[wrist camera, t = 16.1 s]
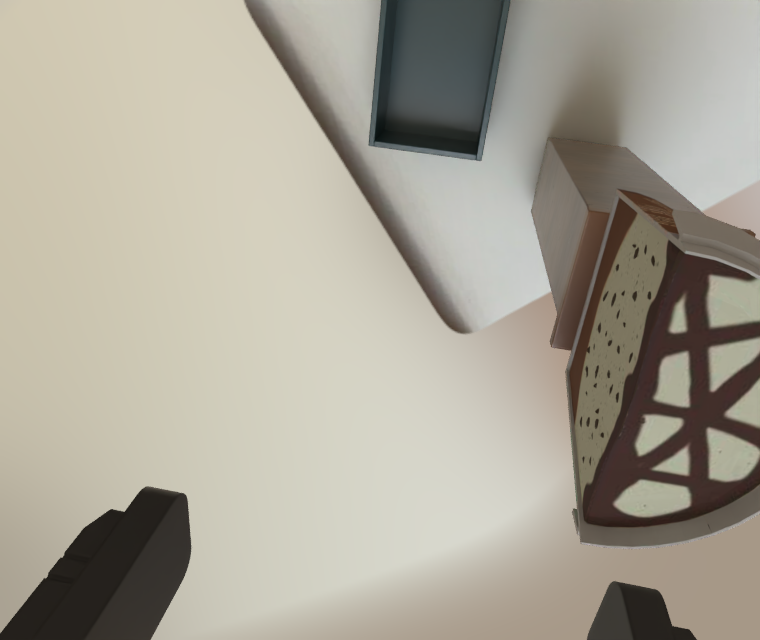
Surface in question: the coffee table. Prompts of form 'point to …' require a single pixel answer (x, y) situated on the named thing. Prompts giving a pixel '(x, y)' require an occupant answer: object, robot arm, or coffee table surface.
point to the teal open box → (436, 75)
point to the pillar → (586, 196)
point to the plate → (582, 277)
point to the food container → (666, 380)
